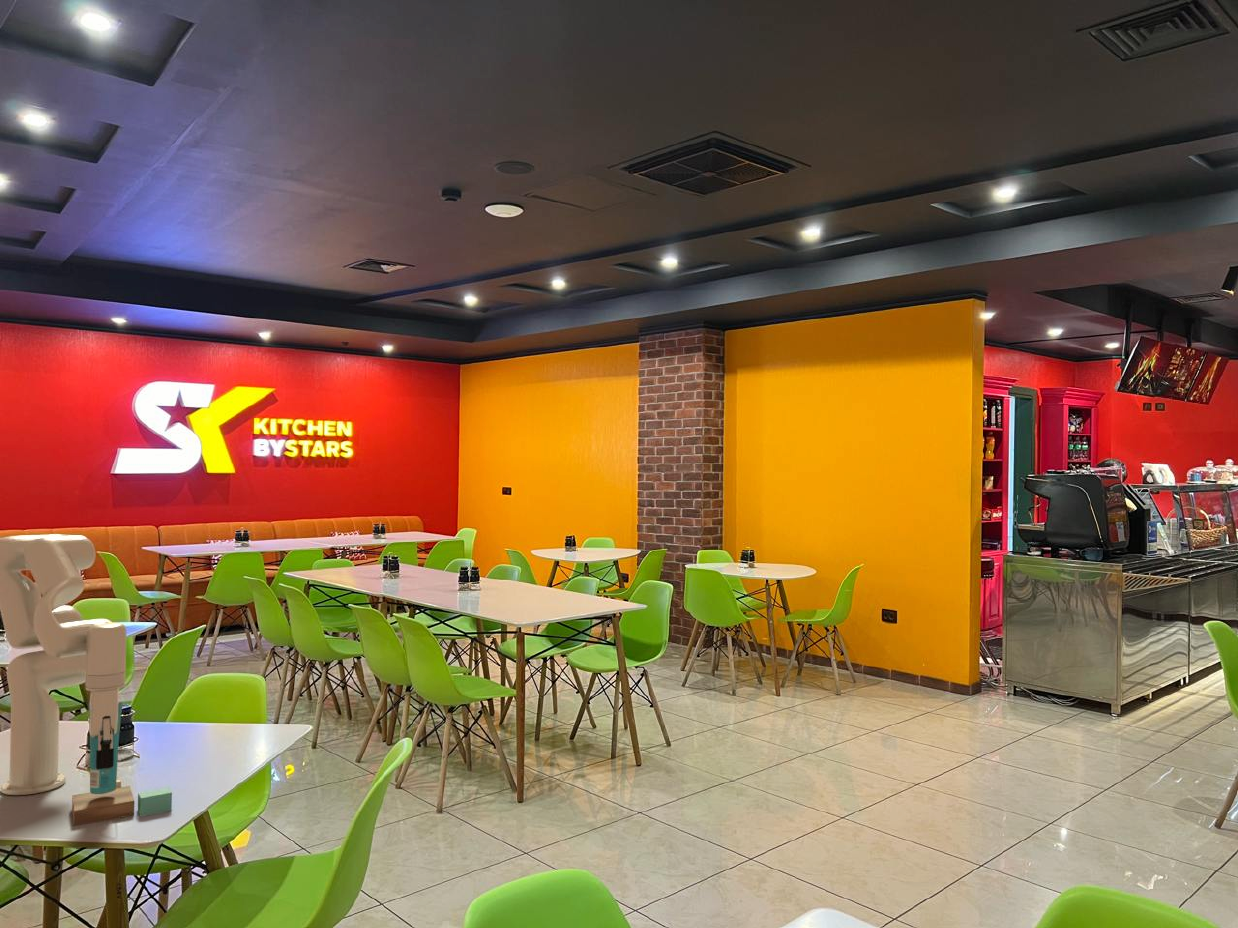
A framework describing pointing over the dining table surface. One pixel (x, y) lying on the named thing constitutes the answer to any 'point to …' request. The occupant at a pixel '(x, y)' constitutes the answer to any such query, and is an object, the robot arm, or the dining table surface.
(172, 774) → the dining table surface
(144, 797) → the teal block
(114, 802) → the plinth
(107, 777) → the tube
